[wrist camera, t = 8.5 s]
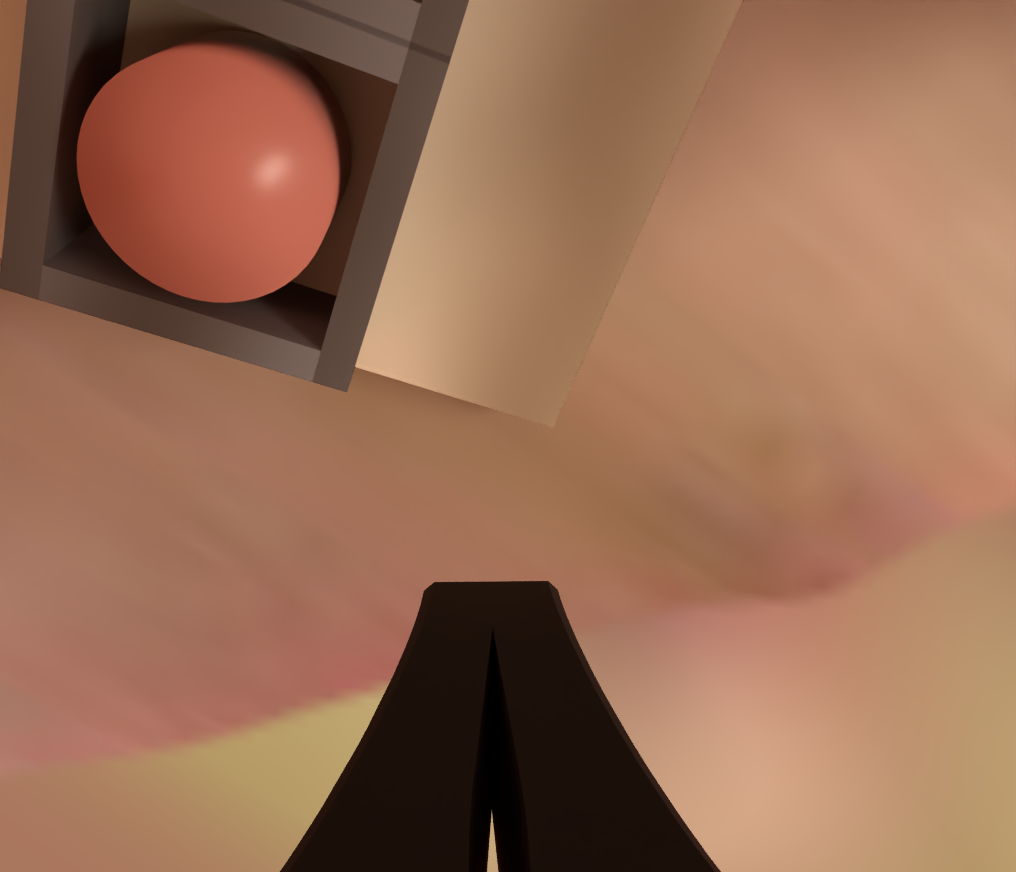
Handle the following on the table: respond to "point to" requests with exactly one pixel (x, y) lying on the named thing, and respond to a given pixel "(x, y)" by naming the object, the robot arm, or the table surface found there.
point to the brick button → (215, 165)
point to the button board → (388, 179)
